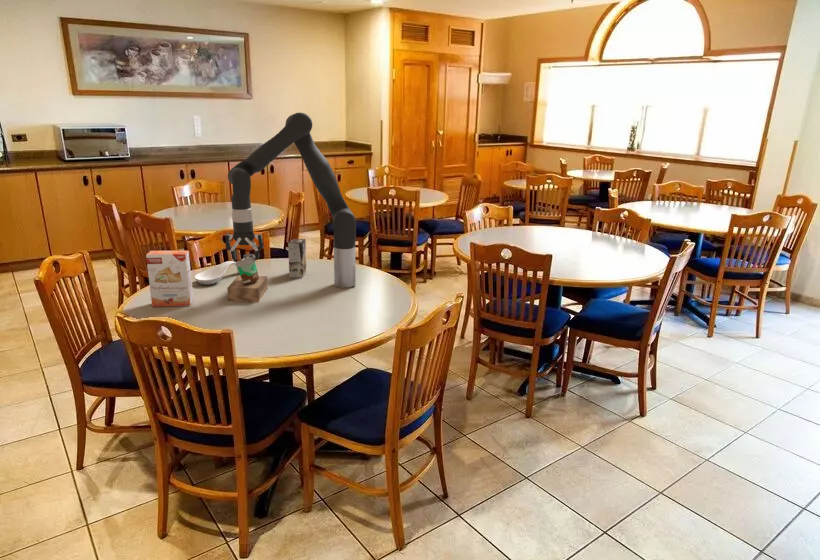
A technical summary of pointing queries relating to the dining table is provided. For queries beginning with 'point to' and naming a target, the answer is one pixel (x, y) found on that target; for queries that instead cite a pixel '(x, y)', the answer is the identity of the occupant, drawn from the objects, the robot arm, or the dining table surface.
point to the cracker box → (169, 278)
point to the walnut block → (247, 290)
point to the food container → (248, 269)
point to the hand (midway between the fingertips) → (245, 259)
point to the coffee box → (297, 258)
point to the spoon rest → (214, 273)
